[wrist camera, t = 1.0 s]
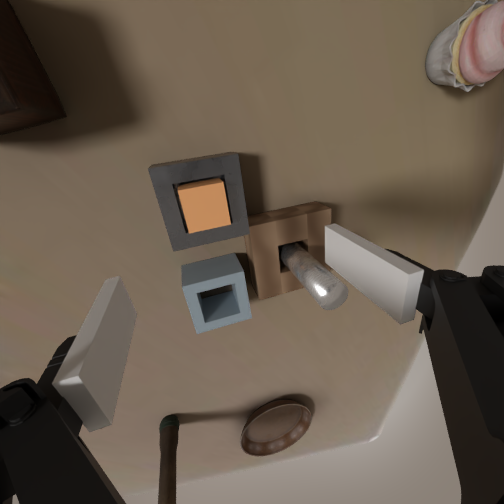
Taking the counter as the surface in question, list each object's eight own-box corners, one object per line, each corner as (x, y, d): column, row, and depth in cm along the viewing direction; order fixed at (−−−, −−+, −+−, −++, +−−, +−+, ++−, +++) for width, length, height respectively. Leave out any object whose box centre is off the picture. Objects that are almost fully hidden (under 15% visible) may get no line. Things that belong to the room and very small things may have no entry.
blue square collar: (234, 252, 38) (243, 271, 33) (242, 295, 42) (251, 317, 36) (181, 265, 37) (181, 286, 31) (194, 308, 40) (196, 334, 35)
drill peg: (291, 232, 39) (348, 279, 26) (293, 251, 41) (347, 305, 28) (271, 237, 39) (319, 287, 25) (273, 256, 40) (319, 313, 27)
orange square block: (218, 177, 30) (223, 182, 27) (226, 216, 32) (231, 224, 29) (177, 185, 29) (177, 190, 26) (188, 224, 31) (189, 233, 28)
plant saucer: (307, 383, 57) (313, 395, 54) (306, 428, 65) (311, 440, 62) (233, 407, 54) (235, 422, 51) (241, 451, 61) (244, 465, 59)
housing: (230, 151, 32) (238, 153, 28) (242, 223, 36) (250, 233, 32) (151, 164, 30) (147, 168, 26) (174, 238, 35) (173, 251, 31)
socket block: (315, 201, 38) (331, 208, 34) (316, 267, 43) (330, 280, 40) (241, 217, 36) (249, 226, 32) (252, 284, 41) (259, 300, 37)
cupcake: (408, 98, 35) (483, 85, 27) (423, 13, 31) (518, -35, 23) (459, 96, 37) (544, 83, 29) (479, 15, 33) (587, -28, 25)
